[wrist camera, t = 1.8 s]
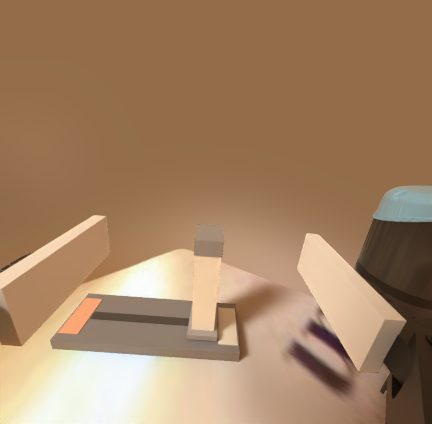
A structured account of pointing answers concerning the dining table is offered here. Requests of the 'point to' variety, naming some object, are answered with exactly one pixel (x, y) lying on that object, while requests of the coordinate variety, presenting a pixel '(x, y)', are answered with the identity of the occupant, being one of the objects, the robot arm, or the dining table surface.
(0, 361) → the dining table surface
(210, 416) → the dining table surface
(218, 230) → the lever
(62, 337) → the switch board
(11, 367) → the dining table surface
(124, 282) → the dining table surface
